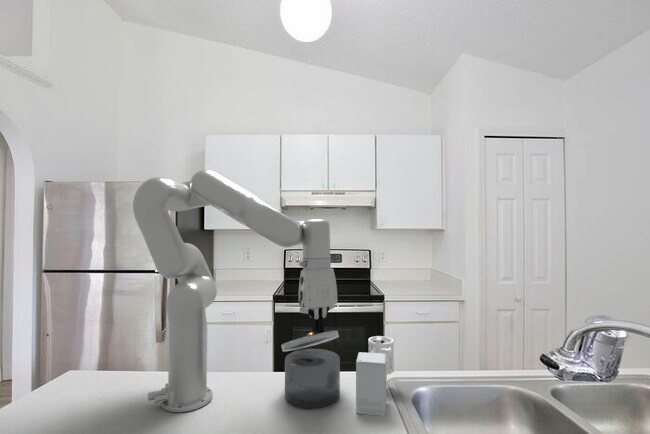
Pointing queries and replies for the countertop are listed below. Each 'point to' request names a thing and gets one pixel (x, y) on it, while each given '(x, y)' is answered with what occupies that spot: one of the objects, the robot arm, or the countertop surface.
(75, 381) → the countertop surface
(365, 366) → the supplement box
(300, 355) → the grey rounded cylinder
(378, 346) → the white caged cylinder
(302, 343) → the lid
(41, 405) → the countertop surface
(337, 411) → the countertop surface
